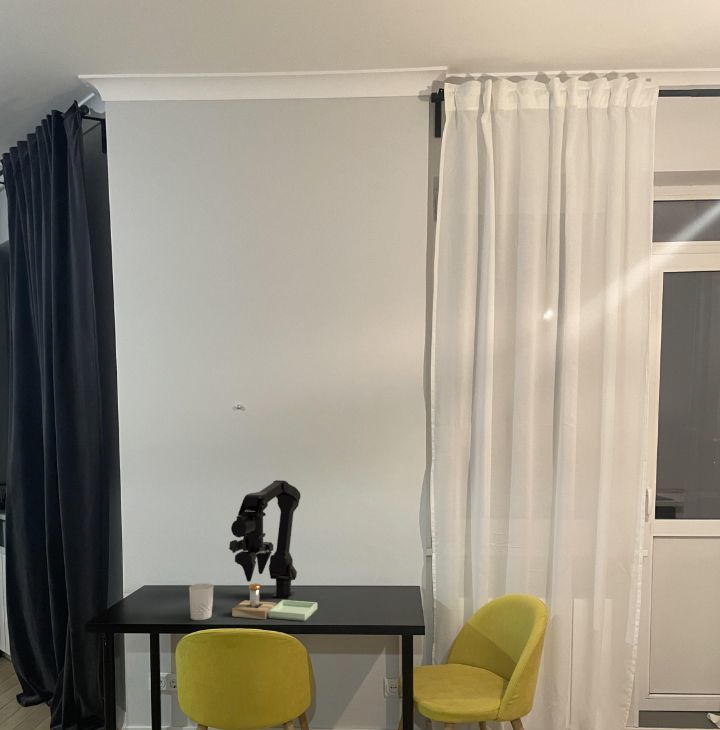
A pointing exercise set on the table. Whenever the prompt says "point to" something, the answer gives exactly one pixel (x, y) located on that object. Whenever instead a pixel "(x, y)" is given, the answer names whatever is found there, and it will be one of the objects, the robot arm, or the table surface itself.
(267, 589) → the table surface
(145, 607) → the table surface
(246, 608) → the block
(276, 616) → the tray
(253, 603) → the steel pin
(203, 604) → the white cup
